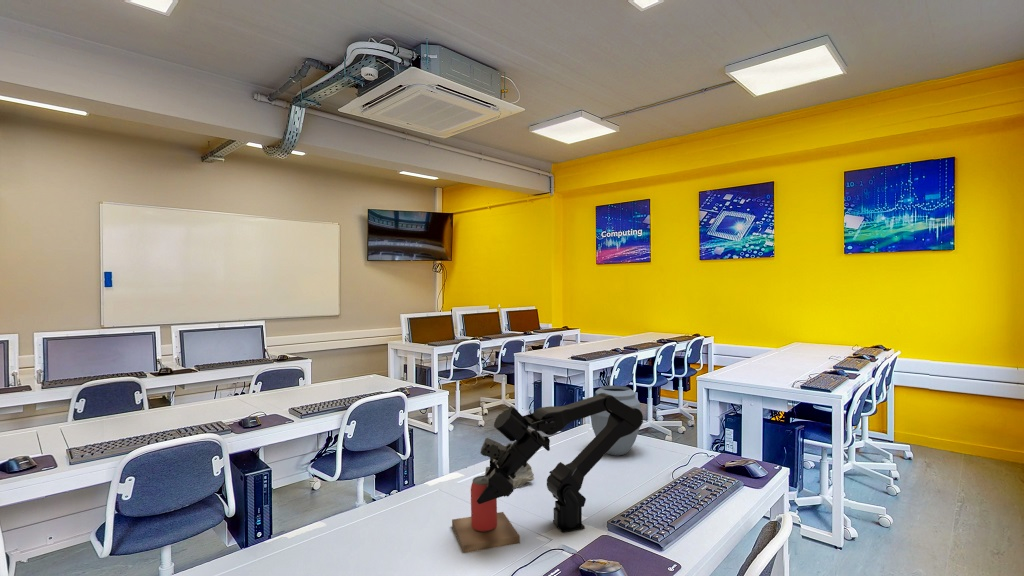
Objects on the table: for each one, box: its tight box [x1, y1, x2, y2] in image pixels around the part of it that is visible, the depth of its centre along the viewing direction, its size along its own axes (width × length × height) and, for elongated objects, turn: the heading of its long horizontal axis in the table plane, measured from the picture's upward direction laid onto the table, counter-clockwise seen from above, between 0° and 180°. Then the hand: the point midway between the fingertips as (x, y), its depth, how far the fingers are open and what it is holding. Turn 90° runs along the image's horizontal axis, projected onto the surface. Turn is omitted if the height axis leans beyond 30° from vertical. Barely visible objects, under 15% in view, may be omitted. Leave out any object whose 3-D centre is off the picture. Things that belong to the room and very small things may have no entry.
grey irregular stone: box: [484, 462, 535, 489], centre depth 162 cm, size 15×16×4 cm
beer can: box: [470, 475, 498, 532], centre depth 126 cm, size 7×7×12 cm
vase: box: [589, 385, 643, 456], centre depth 188 cm, size 20×20×24 cm
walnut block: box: [451, 511, 521, 554], centre depth 126 cm, size 14×14×2 cm
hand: (478, 494), depth 126 cm, fingers open, 9 cm apart
